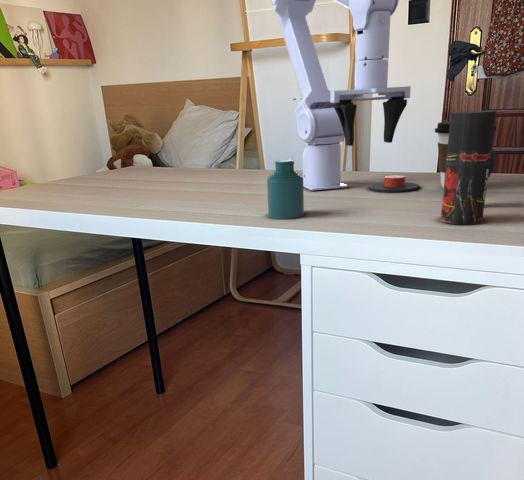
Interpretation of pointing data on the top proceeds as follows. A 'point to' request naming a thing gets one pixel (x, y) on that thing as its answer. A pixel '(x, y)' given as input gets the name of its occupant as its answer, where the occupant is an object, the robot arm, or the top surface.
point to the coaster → (393, 188)
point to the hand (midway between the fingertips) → (368, 143)
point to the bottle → (285, 191)
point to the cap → (394, 181)
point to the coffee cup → (443, 146)
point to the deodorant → (467, 166)
